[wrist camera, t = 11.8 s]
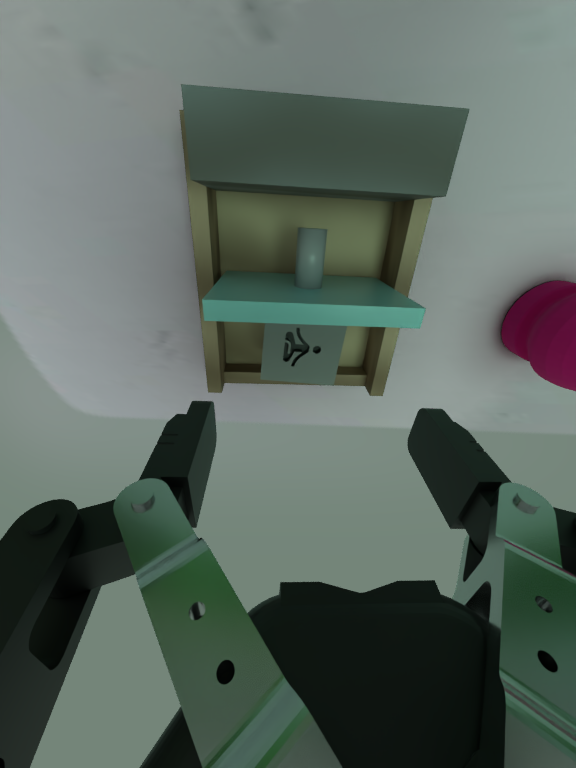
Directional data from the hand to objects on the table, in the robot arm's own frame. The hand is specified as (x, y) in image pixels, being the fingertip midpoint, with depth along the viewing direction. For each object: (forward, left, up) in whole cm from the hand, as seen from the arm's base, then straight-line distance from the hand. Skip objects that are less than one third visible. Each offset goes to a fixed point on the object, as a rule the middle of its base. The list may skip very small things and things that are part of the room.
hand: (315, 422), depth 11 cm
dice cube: (0, 0, -13) cm, 13 cm away
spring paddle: (-4, 0, -13) cm, 13 cm away
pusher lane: (-3, 0, -14) cm, 14 cm away
